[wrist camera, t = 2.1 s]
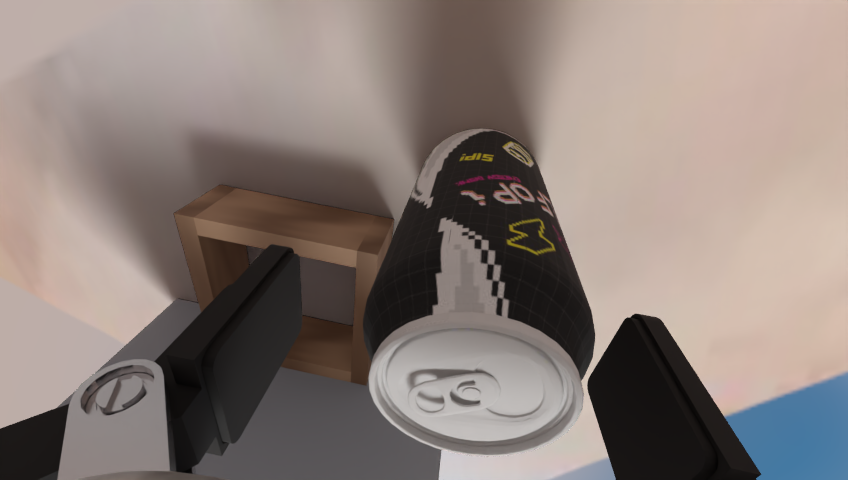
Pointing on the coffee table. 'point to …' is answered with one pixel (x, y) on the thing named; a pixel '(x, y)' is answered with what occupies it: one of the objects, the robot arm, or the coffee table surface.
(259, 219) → the brown wooden open box
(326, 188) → the coffee table surface
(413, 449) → the wall board
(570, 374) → the beverage can
